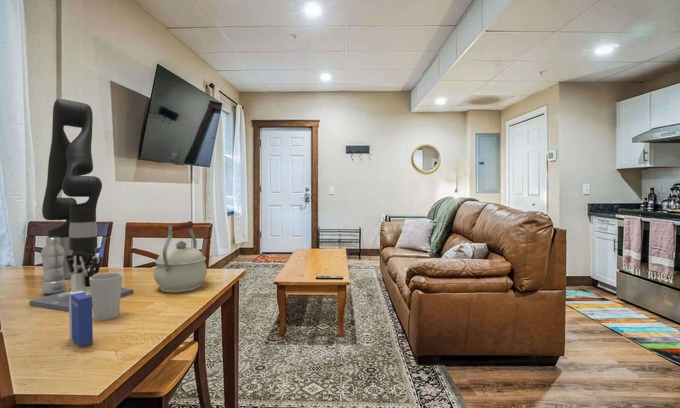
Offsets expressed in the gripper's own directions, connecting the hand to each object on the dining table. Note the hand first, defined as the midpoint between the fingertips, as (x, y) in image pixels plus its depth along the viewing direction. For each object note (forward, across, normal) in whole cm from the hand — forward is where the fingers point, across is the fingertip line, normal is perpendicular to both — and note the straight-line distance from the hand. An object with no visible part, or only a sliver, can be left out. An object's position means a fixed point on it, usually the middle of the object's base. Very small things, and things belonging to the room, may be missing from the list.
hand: (84, 285), depth 113 cm
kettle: (+5, -20, -23) cm, 31 cm away
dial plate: (+5, 0, 0) cm, 5 cm away
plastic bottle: (+5, +16, -1) cm, 17 cm away
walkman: (+5, -30, +23) cm, 38 cm away
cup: (+5, -21, +9) cm, 23 cm away
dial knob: (+3, 0, +2) cm, 4 cm away
